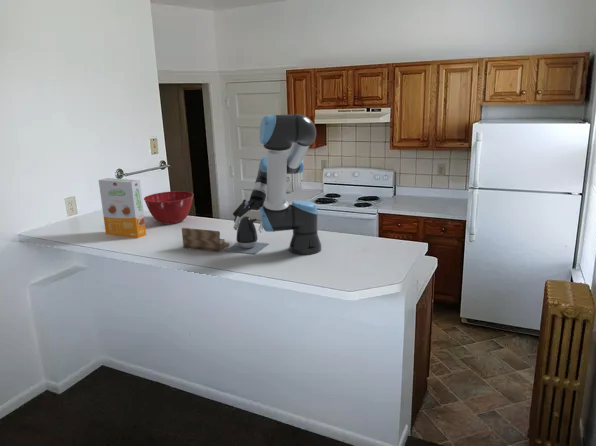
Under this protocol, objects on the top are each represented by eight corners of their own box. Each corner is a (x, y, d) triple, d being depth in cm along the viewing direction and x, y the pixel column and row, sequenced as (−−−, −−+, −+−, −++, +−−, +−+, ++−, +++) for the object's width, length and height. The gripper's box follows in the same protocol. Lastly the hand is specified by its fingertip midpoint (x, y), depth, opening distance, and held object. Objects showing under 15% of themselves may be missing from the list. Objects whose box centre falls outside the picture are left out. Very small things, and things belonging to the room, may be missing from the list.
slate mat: (269, 244, 230) (269, 243, 230) (254, 254, 216) (254, 253, 216) (240, 241, 236) (240, 240, 236) (224, 251, 222) (224, 250, 221)
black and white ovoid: (255, 250, 220) (253, 219, 216) (234, 249, 222) (232, 219, 218) (260, 244, 230) (259, 214, 226) (240, 243, 232) (239, 213, 228)
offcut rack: (229, 245, 229) (228, 226, 227) (218, 251, 220) (217, 231, 218) (194, 241, 237) (193, 223, 234) (183, 247, 228) (181, 228, 225)
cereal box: (146, 235, 250) (139, 180, 242) (138, 238, 245) (131, 182, 237) (114, 231, 259) (107, 178, 251) (105, 234, 254) (98, 180, 246)
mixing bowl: (166, 230, 258) (164, 203, 254) (136, 223, 275) (133, 197, 271) (205, 219, 280) (203, 194, 276) (175, 213, 297) (172, 189, 292)
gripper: (284, 198, 233) (273, 235, 224) (240, 195, 242) (227, 231, 233) (279, 190, 227) (268, 228, 218) (234, 188, 236) (221, 224, 226)
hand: (247, 230), depth 225 cm, fingers open, 13 cm apart
